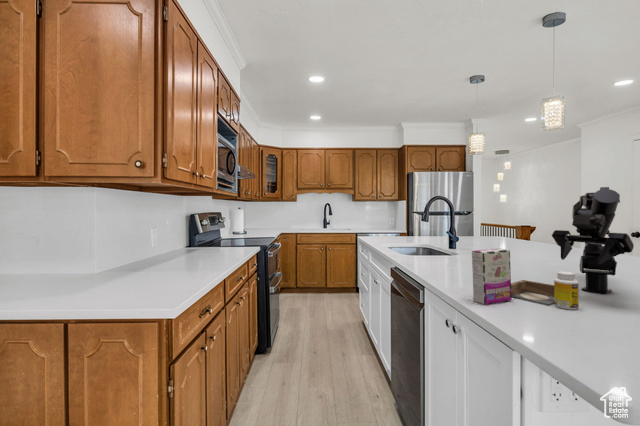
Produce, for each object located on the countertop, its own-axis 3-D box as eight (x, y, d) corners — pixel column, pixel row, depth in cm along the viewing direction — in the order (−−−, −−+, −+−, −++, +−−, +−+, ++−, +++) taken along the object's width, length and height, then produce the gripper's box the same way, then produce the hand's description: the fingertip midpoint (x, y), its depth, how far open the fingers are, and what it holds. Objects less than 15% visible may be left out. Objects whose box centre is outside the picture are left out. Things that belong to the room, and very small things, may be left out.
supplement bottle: (574, 311, 86) (574, 275, 86) (551, 306, 90) (550, 272, 90) (581, 308, 89) (581, 273, 89) (558, 303, 94) (558, 270, 93)
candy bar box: (498, 297, 101) (497, 247, 101) (512, 301, 96) (511, 249, 96) (471, 301, 97) (471, 250, 97) (484, 305, 93) (484, 252, 93)
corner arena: (524, 291, 108) (524, 279, 108) (565, 299, 97) (565, 286, 97) (506, 296, 102) (506, 284, 102) (548, 305, 91) (548, 292, 91)
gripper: (554, 206, 103) (534, 240, 98) (628, 205, 86) (608, 246, 81) (568, 228, 106) (549, 262, 102) (641, 231, 89) (623, 273, 85)
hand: (579, 261), depth 92 cm, fingers open, 9 cm apart
